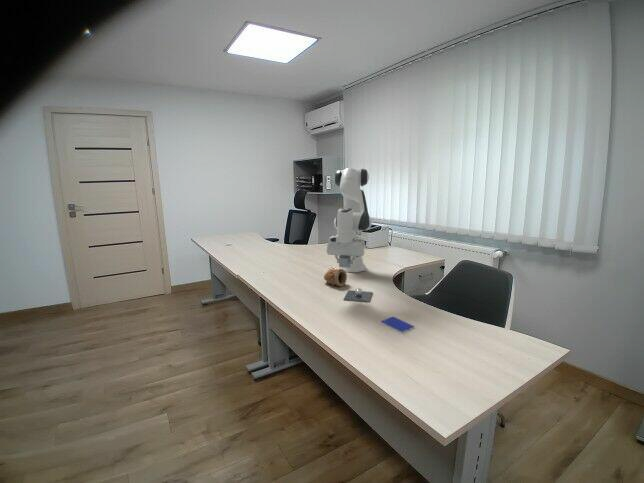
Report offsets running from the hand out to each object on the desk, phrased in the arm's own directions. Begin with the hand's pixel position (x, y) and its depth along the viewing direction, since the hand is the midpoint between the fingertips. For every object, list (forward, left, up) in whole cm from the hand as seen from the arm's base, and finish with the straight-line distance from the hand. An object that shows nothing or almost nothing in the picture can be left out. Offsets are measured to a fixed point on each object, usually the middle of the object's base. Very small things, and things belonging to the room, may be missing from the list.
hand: (345, 263), depth 177 cm
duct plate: (-2, +7, -19) cm, 20 cm away
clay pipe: (-21, -11, -20) cm, 31 cm away
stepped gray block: (+1, 0, -2) cm, 2 cm away
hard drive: (+29, +29, -20) cm, 46 cm away
